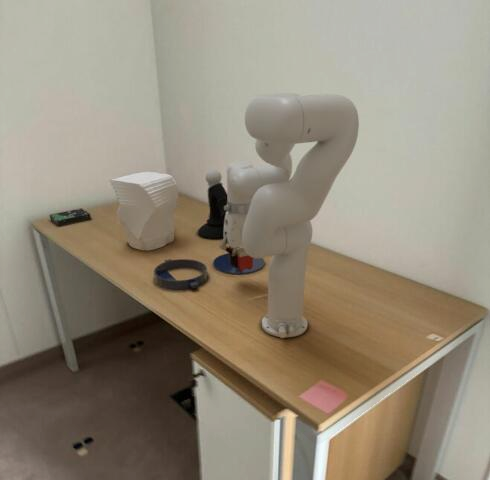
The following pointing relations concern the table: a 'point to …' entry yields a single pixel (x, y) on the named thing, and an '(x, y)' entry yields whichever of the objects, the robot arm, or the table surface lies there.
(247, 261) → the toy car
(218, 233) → the sculpture
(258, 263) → the lid
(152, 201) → the paper stack
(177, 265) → the pot
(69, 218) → the disk drive
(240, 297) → the table surface
